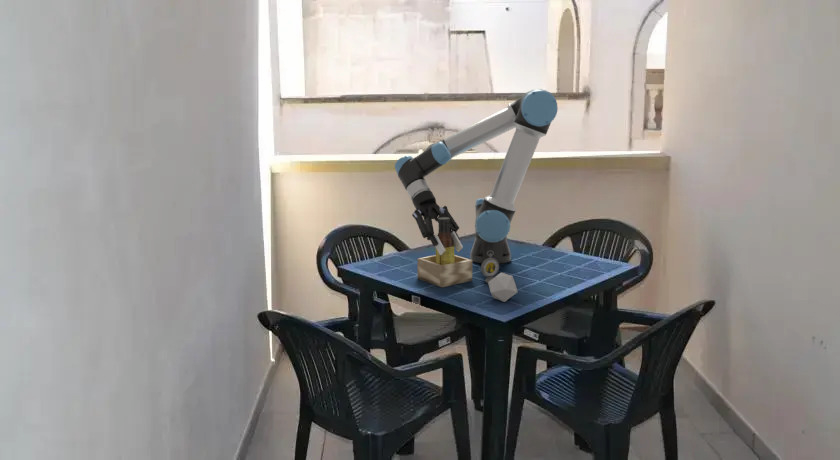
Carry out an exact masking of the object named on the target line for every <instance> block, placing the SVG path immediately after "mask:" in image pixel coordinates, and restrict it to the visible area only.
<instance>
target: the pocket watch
mask: <svg viewBox="0 0 840 460" xmlns="http://www.w3.org/2000/svg"><path fill="white" fill-rule="evenodd" d="M488 252H489V251H488ZM488 252H487V253H488ZM492 252H493V251H492ZM493 254H494V252H493ZM493 254H491V253H490V255H488V254H487V255H488V256H490V258H487V259H486V260H484V262H483V263H481V266H480V271H481V274H482V275H483V277H486V278H485V280H484V282H485V283H487V284H488V282H489V281H490V280H492V279H493V278H494V277H496V276H497V275H498V273H499V269H500V264H499V263H498V261H497V260H496V259H494V258H491V256H492V255H493Z"/></svg>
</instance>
